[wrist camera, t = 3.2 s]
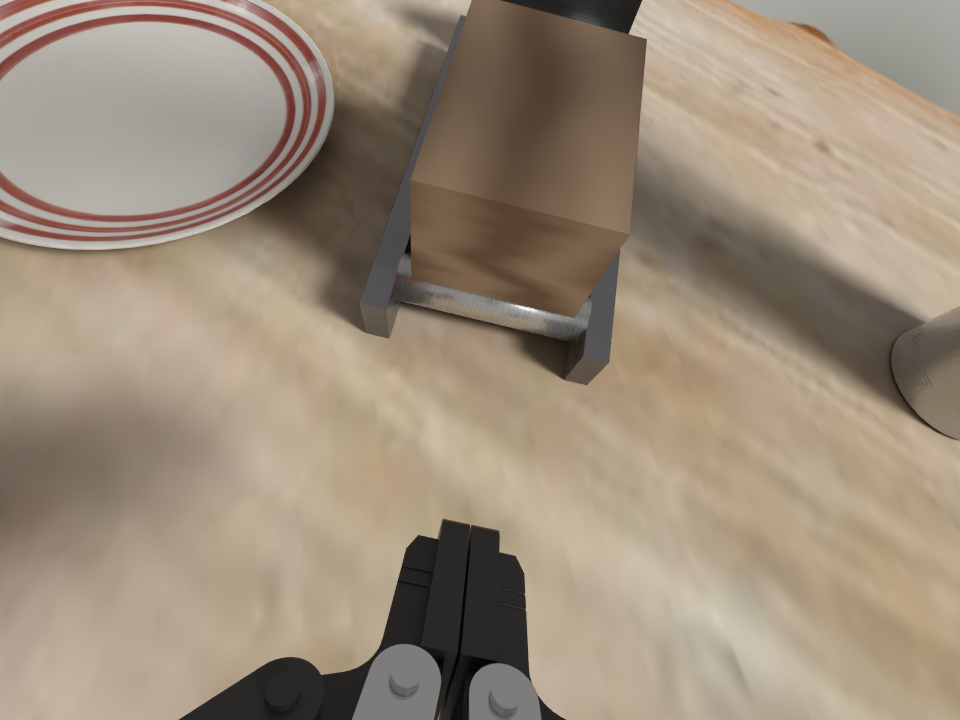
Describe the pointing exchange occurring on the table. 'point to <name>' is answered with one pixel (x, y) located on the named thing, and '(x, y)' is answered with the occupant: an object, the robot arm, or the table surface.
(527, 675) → the robot arm
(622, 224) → the brown cardboard box
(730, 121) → the table surface
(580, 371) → the roller bed
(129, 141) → the dinner plate
